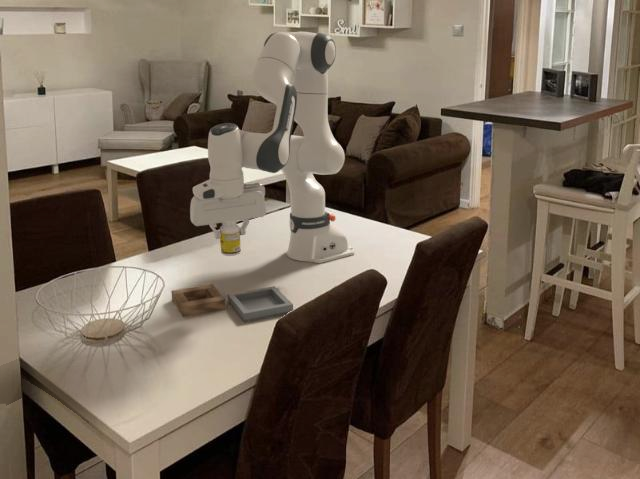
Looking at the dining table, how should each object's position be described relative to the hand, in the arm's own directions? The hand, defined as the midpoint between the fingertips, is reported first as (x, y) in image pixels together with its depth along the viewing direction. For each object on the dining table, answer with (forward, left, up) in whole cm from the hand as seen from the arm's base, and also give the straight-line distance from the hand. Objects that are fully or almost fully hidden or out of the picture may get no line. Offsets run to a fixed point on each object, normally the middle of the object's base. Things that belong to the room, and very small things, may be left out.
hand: (230, 236), depth 196 cm
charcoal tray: (-6, +4, -21) cm, 22 cm away
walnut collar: (+9, -5, -21) cm, 23 cm away
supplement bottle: (0, 0, -5) cm, 5 cm away
